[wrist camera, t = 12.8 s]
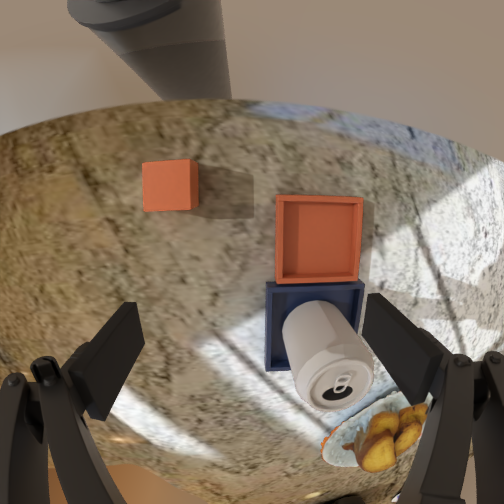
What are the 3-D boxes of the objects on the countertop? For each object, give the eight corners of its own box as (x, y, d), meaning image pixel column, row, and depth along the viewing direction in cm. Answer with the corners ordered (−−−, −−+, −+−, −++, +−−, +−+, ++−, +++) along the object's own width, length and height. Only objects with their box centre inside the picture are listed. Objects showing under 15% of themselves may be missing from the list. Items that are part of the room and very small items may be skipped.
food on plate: (458, 388, 38) (474, 406, 32) (378, 465, 43) (386, 485, 36) (390, 354, 34) (411, 380, 28) (290, 452, 39) (295, 480, 32)
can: (279, 352, 33) (294, 422, 21) (282, 298, 31) (303, 359, 19) (336, 348, 33) (370, 411, 21) (344, 295, 31) (390, 349, 20)
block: (156, 165, 28) (142, 162, 23) (198, 162, 28) (190, 158, 23) (157, 207, 29) (143, 211, 24) (198, 206, 29) (191, 209, 24)
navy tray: (265, 281, 31) (267, 287, 29) (358, 278, 31) (365, 283, 30) (264, 363, 34) (265, 371, 32) (347, 356, 34) (351, 364, 32)
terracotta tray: (275, 194, 29) (278, 195, 27) (356, 196, 29) (363, 197, 27) (274, 278, 31) (276, 284, 29) (351, 275, 31) (357, 280, 29)
